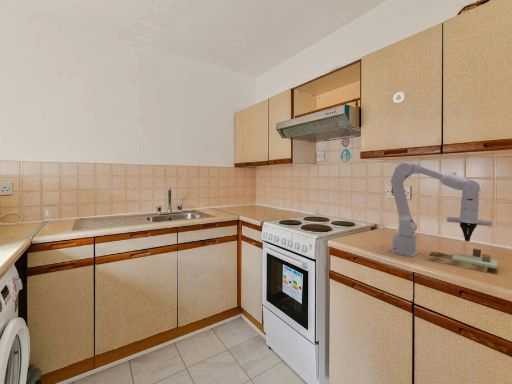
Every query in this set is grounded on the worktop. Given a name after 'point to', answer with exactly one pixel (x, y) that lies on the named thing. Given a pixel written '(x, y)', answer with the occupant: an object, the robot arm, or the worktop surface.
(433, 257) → the shallow wooden tray
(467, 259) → the lid
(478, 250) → the dark brown rectangular block
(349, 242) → the worktop surface
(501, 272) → the worktop surface
